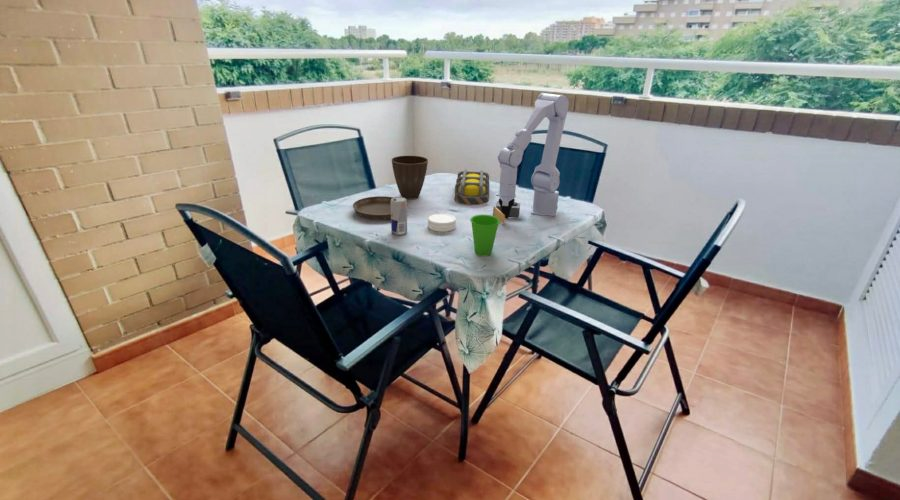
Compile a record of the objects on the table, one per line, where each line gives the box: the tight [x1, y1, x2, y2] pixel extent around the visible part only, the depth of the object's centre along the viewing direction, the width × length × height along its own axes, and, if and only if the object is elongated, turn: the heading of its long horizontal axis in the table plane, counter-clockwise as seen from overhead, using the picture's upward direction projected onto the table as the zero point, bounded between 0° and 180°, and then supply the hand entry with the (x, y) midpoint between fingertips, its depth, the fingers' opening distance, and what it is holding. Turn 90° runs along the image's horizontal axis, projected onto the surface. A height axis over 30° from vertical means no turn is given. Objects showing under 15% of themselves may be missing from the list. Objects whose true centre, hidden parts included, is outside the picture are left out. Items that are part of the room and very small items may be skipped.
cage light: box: [453, 169, 490, 206], centre depth 188 cm, size 15×8×30 cm
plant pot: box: [391, 155, 429, 200], centre depth 181 cm, size 15×15×16 cm
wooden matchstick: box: [492, 205, 506, 225], centre depth 160 cm, size 10×1×3 cm, turn 16°
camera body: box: [492, 200, 521, 219], centre depth 166 cm, size 10×7×5 cm
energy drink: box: [390, 196, 408, 236], centre depth 146 cm, size 5×5×12 cm
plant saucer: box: [352, 195, 394, 221], centre depth 166 cm, size 21×21×3 cm
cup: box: [469, 214, 501, 257], centre depth 133 cm, size 9×9×11 cm
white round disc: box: [427, 213, 457, 233], centre depth 154 cm, size 10×10×4 cm
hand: (505, 218), depth 159 cm, fingers closed, pressing on wooden matchstick
